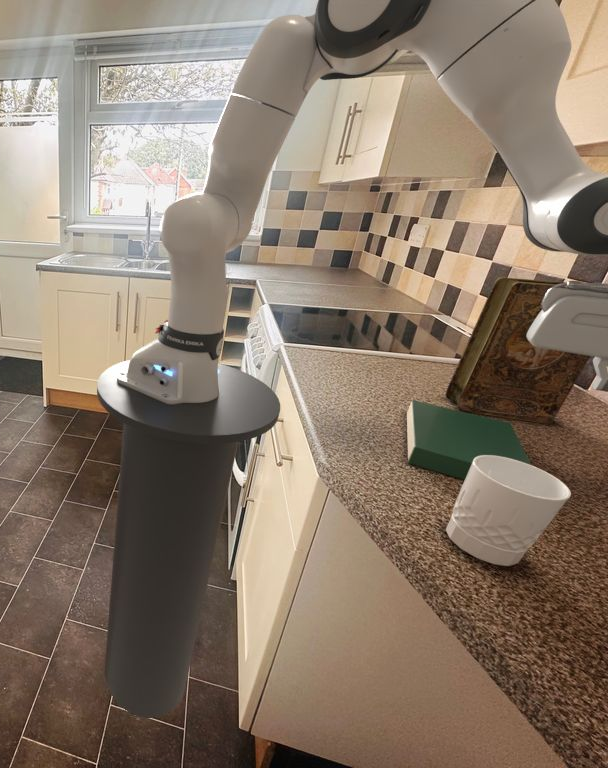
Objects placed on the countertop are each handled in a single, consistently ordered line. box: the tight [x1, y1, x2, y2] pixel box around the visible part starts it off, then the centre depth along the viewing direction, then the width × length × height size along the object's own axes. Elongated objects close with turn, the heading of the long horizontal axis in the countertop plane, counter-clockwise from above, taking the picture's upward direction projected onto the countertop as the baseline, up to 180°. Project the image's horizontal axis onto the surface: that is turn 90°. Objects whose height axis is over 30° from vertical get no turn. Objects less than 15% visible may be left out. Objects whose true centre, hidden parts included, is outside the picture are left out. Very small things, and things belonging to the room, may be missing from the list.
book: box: [445, 276, 591, 425], centre depth 77 cm, size 16×6×25 cm, turn 73°
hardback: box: [406, 399, 532, 481], centre depth 68 cm, size 14×20×3 cm
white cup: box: [445, 455, 572, 567], centre depth 47 cm, size 8×8×10 cm
